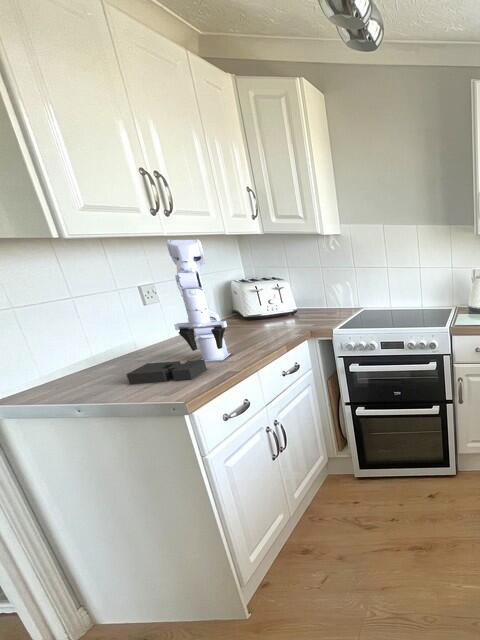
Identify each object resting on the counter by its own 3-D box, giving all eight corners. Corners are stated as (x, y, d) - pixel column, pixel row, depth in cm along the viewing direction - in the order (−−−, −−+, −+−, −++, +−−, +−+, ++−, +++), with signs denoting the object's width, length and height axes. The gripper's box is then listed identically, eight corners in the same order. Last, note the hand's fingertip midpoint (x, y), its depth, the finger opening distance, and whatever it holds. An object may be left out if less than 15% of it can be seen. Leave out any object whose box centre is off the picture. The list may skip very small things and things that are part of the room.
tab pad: (181, 370, 147) (179, 361, 146) (206, 368, 149) (204, 359, 148) (164, 381, 136) (161, 371, 135) (191, 379, 138) (189, 369, 137)
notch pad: (149, 372, 145) (146, 363, 144) (182, 370, 147) (180, 361, 146) (129, 384, 134) (126, 374, 133) (165, 381, 136) (162, 371, 135)
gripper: (165, 312, 132) (177, 353, 137) (216, 310, 135) (227, 350, 140) (176, 309, 138) (187, 348, 143) (225, 307, 142) (234, 345, 146)
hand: (207, 349), depth 142 cm, fingers open, 7 cm apart
